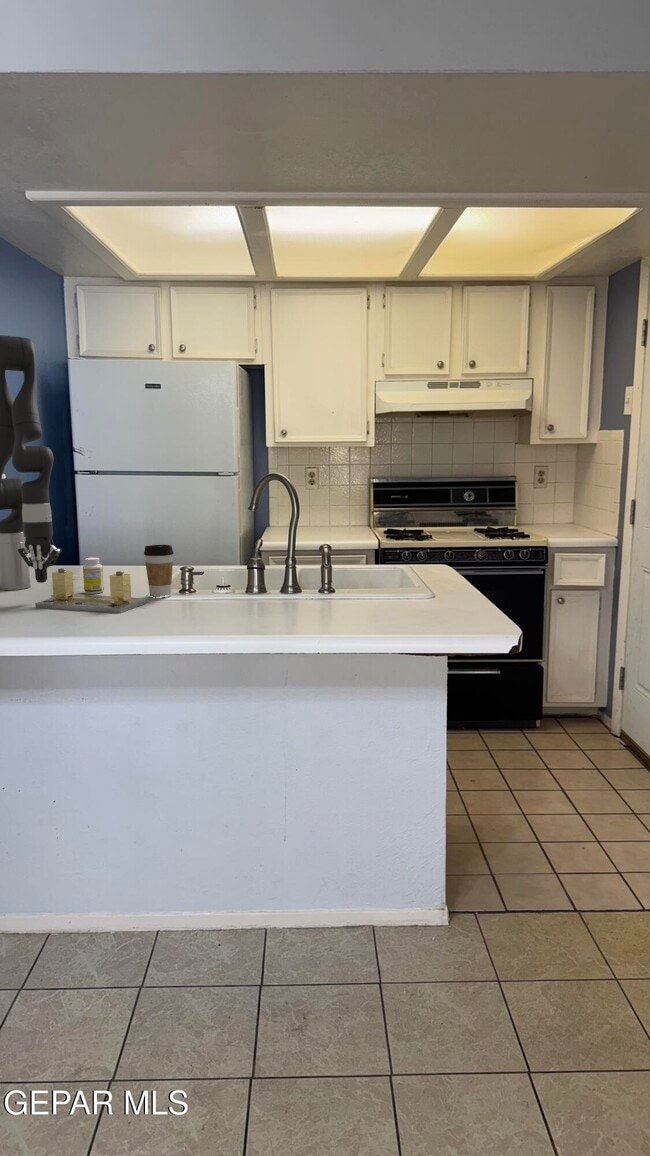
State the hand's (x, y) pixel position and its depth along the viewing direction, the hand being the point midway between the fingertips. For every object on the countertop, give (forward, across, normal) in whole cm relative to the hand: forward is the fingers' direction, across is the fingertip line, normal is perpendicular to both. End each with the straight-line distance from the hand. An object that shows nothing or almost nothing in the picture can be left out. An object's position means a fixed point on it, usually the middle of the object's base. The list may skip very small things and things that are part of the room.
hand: (41, 582), depth 214 cm
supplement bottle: (+6, +6, +16) cm, 18 cm away
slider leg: (+4, +7, -1) cm, 8 cm away
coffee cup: (+6, +28, +16) cm, 33 cm away
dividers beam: (+5, +16, -1) cm, 16 cm away
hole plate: (+6, +16, 0) cm, 17 cm away
